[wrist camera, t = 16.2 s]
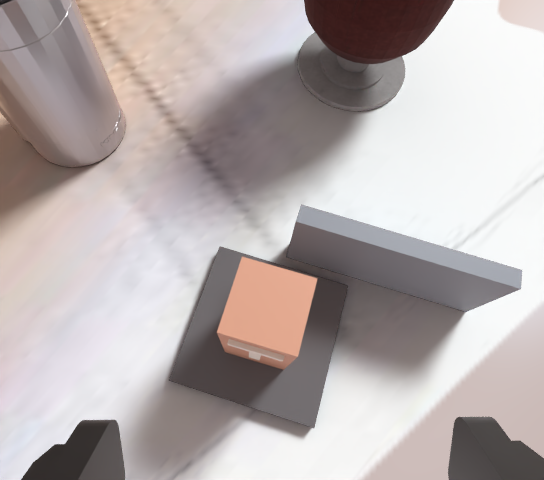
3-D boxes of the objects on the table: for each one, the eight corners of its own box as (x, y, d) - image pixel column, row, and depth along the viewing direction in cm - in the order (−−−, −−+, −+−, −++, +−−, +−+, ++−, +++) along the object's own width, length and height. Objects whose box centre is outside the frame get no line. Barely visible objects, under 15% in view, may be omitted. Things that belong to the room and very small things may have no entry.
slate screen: (286, 257, 38) (295, 221, 31) (290, 242, 39) (301, 204, 31) (465, 311, 37) (521, 289, 30) (467, 296, 38) (522, 270, 30)
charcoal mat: (171, 381, 33) (168, 380, 32) (220, 250, 38) (219, 246, 37) (312, 427, 33) (314, 428, 32) (345, 288, 37) (348, 285, 36)
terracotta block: (223, 355, 33) (215, 337, 24) (243, 295, 35) (242, 256, 26) (282, 373, 33) (296, 361, 24) (298, 311, 35) (317, 278, 26)
